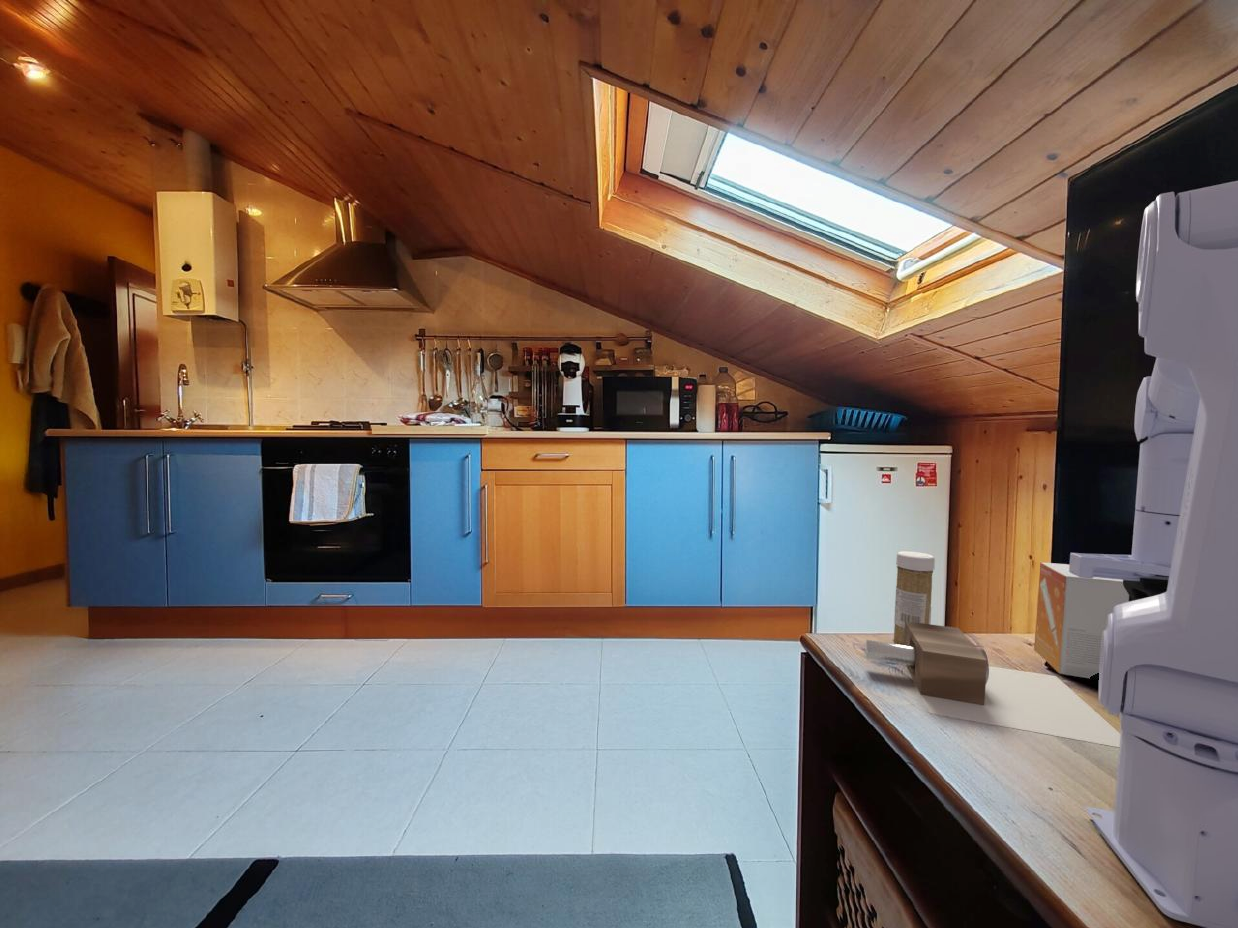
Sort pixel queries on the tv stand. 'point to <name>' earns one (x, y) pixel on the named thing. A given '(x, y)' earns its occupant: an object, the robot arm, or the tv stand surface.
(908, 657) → the pin
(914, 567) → the sprinkles bottle
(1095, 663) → the small box
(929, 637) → the block
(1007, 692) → the board
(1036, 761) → the tv stand surface
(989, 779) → the tv stand surface
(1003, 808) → the tv stand surface
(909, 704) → the tv stand surface
